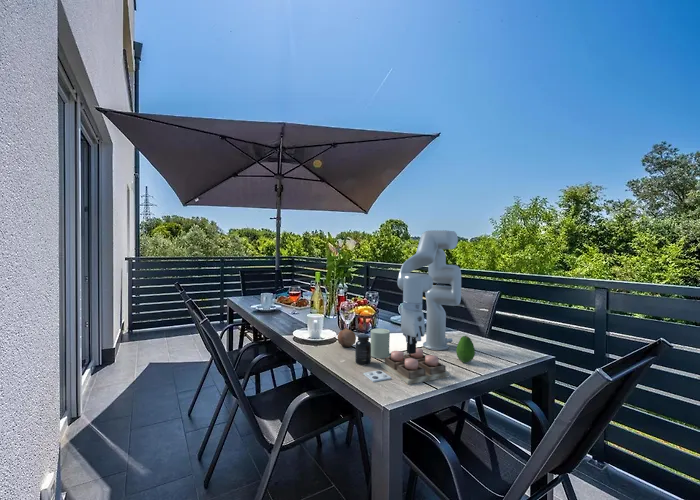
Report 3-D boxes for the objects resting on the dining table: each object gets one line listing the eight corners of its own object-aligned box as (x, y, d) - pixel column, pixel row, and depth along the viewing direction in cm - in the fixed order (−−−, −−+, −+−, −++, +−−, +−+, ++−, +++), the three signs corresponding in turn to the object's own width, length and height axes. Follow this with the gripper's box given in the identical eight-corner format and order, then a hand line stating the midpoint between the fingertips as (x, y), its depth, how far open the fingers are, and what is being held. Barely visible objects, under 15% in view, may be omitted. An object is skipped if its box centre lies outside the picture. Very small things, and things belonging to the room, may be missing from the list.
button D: (412, 363, 137) (412, 357, 137) (420, 368, 132) (420, 361, 132) (402, 365, 135) (402, 359, 135) (409, 370, 130) (409, 363, 130)
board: (419, 360, 154) (419, 351, 154) (449, 376, 136) (449, 366, 136) (380, 366, 145) (381, 357, 145) (407, 384, 127) (408, 373, 127)
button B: (432, 360, 141) (432, 354, 141) (440, 364, 137) (441, 358, 137) (422, 362, 139) (422, 356, 139) (430, 366, 134) (430, 360, 134)
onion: (344, 349, 176) (343, 330, 180) (359, 347, 172) (358, 328, 176) (333, 347, 169) (333, 327, 173) (350, 345, 164) (349, 324, 169)
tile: (380, 371, 139) (380, 369, 139) (391, 378, 132) (391, 376, 132) (363, 374, 136) (363, 372, 136) (373, 382, 129) (373, 380, 129)
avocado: (457, 364, 149) (458, 337, 149) (454, 358, 157) (455, 332, 156) (476, 365, 148) (477, 338, 148) (472, 359, 156) (473, 333, 155)
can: (388, 359, 155) (389, 333, 154) (368, 357, 156) (369, 331, 156) (390, 352, 164) (390, 328, 163) (371, 351, 165) (371, 326, 165)
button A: (418, 353, 150) (418, 347, 150) (425, 356, 146) (425, 350, 146) (408, 354, 148) (408, 348, 148) (415, 358, 144) (415, 352, 143)
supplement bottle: (354, 360, 153) (355, 333, 152) (369, 359, 153) (370, 333, 153) (356, 365, 146) (356, 337, 145) (371, 365, 146) (372, 337, 146)
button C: (399, 356, 146) (399, 350, 146) (406, 360, 141) (406, 353, 141) (388, 357, 144) (388, 351, 144) (395, 361, 139) (395, 355, 139)
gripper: (432, 309, 128) (431, 357, 128) (409, 303, 141) (408, 346, 141) (416, 310, 125) (414, 360, 125) (394, 303, 138) (392, 348, 138)
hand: (411, 353), depth 133 cm, fingers closed
